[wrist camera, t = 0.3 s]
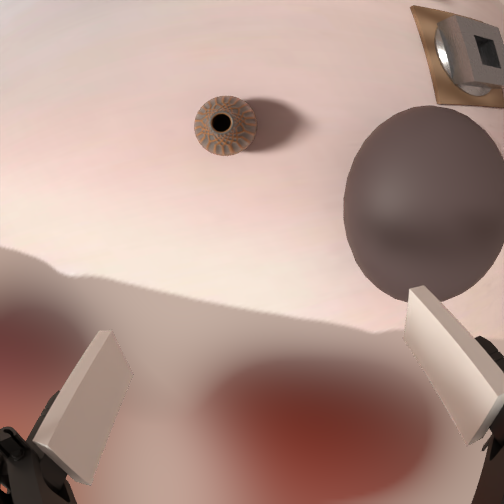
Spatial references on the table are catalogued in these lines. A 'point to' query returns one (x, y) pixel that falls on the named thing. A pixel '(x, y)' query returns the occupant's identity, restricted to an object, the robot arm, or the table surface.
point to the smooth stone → (426, 203)
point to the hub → (470, 54)
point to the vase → (225, 125)
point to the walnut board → (441, 82)
